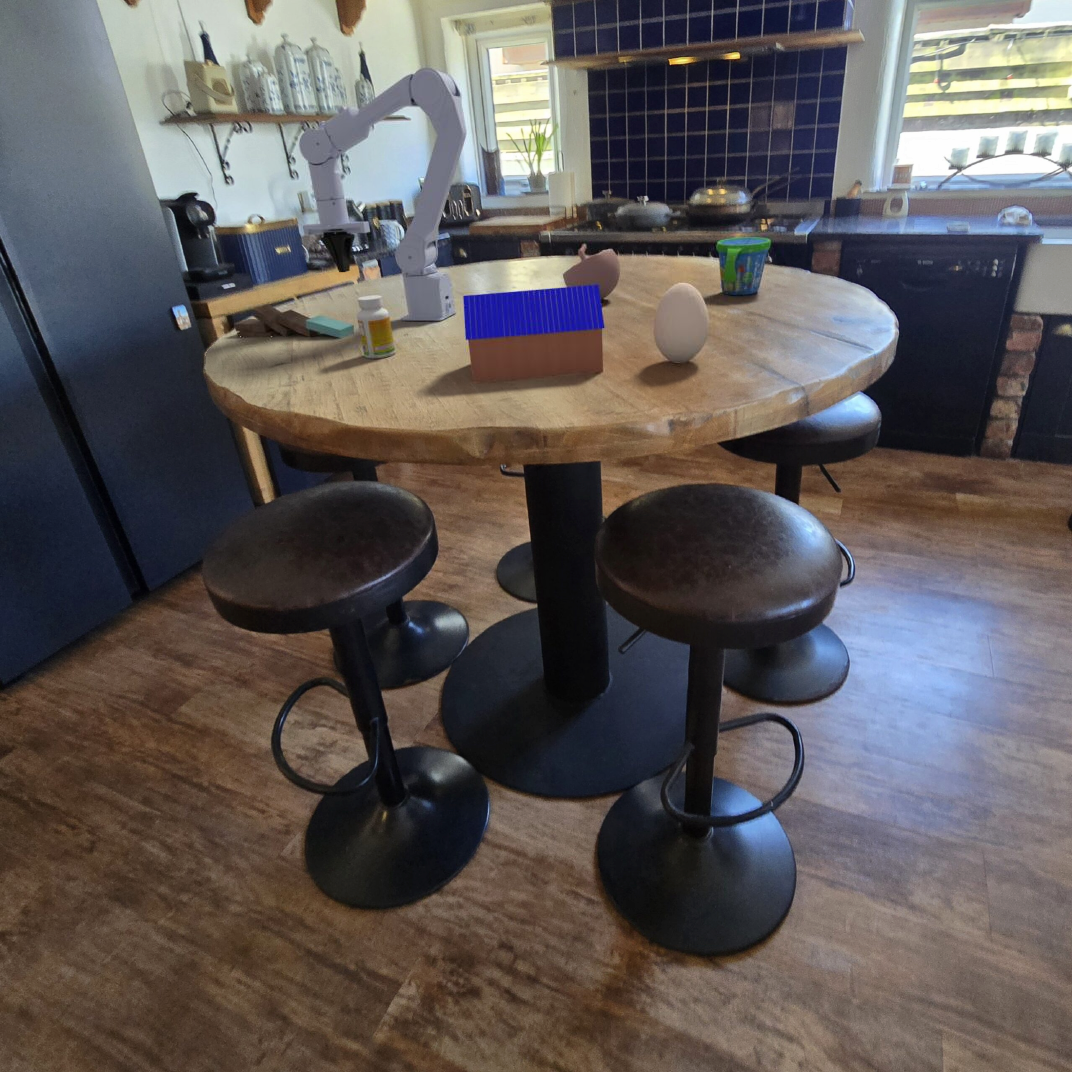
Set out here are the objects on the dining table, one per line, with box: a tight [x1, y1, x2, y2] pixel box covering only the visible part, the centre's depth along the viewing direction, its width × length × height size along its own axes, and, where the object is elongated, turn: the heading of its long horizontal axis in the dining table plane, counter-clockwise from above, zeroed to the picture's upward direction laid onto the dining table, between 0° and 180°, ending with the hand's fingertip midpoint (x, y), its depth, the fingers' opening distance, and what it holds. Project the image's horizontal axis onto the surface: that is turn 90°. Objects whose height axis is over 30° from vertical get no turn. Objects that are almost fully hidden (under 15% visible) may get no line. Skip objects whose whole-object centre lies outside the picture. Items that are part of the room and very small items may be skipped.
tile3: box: [252, 303, 298, 337], centre depth 140 cm, size 2×4×8 cm
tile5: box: [236, 330, 280, 338], centre depth 142 cm, size 2×4×8 cm
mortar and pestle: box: [562, 243, 621, 300], centre depth 146 cm, size 12×12×12 cm
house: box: [462, 285, 606, 383], centre depth 104 cm, size 12×20×12 cm, turn 93°
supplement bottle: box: [356, 294, 396, 360], centre depth 118 cm, size 5×5×10 cm
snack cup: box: [715, 236, 772, 296], centre depth 143 cm, size 16×10×10 cm
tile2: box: [276, 309, 322, 338], centre depth 139 cm, size 2×4×8 cm
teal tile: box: [306, 314, 355, 339], centre depth 136 cm, size 2×4×8 cm
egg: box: [652, 282, 710, 364], centre depth 101 cm, size 8×8×11 cm
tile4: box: [233, 318, 274, 333], centre depth 142 cm, size 2×4×8 cm
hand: (344, 271), depth 144 cm, fingers closed
